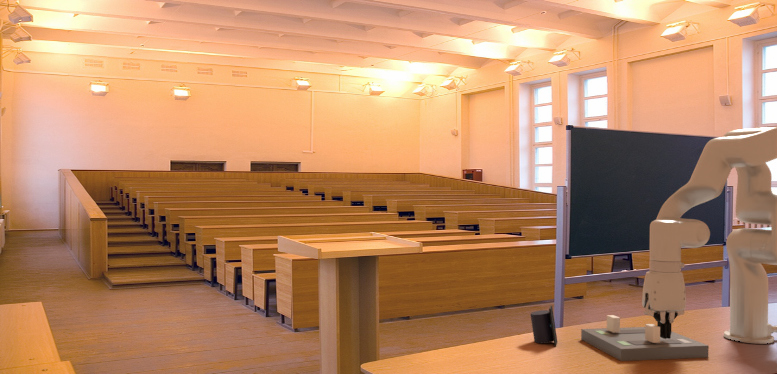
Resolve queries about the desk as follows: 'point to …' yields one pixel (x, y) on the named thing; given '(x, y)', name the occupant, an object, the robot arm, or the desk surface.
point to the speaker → (544, 326)
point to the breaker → (613, 323)
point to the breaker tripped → (652, 333)
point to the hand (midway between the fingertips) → (664, 337)
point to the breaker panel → (643, 344)
